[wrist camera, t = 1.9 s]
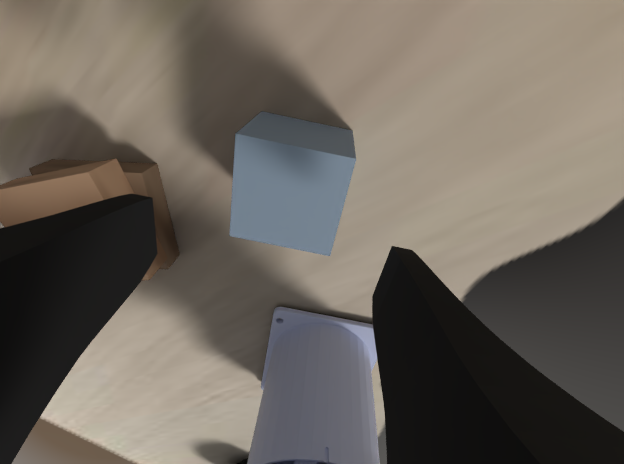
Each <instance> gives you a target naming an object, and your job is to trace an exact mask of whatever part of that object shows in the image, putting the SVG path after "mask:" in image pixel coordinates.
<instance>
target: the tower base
mask: <svg viewBox="0 0 624 464" xmlns="http://www.w3.org/2000/svg"><path fill="white" fill-rule="evenodd" d="M96 162H101V161H81V160H56V159H52V160H49V161H47V162H44V163H42V164H39V165H37V166H34V167H32V168H29V170H30V172H31V174H32V175H37V174H42V173H47V172H52V171H57V170H62V169H67V168H72V167H76V166H81V165H86V164H91V163H96ZM118 163H119V164H120V166H121V168H122V170H123V172H124V174H125V176H126V178H127V180H128V182H129V184H130V186H131V188H132V190H133V191H134V193H135V194H137V195H142V196H147V197H152V198H153V208H154V219H155V230H156V236H157V238H158V240H159V242H160V244H161V246H162V247H163V249H164V251H165V253H166V255H167V257H168V258H167V260H166V261H165V262H164V263H163V265H162V266H161V267H160V268H159V269H169V267H170V266H171V265H172V263H173V262H174V261H175V260H176V258H177V257H178V256H179V250H178V246H177V242H176V238H175V234H174V230H173V226H172V222H171V218H170V213H169V209H168V205H167V201H166V197H165V193H164V189H163V185H162V181H161V177H160V173H159V169H158V165H157V163H132V162H118Z"/></svg>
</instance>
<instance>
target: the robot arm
mask: <svg viewBox="0 0 624 464" xmlns="http://www.w3.org/2000/svg"><path fill="white" fill-rule="evenodd" d="M157 254H158V253H157V241H156V230H155V219H154V208H153V198H152V197H147V196H142V195H137V194H126V195H121V196H117V197H113V198H109V199H105V200H102V201H98V202H95V203H91V204H88V205H85V206H81V207H78V208H74V209H71V210H67V211H64V212H61V213H57V214H54V215H50V216H46V217H43V218H39V219H35V220H31V221H27V222H24V223H20V224H16V225H12V226H8V227H5V228H1V229H0V464H11V463H12V462H13V460H14V458H15V457H16V455H17V453H18V452H19V450H20V448H21V446H22V445H23V443H24V442H25V440H26V438H27V437H28V435H29V433H30V431H31V430H32V428H33V427H34V425H35V424H36V422H37V421H38V419H39V417H40V416H41V414H42V413H43V411H44V409H45V408H46V406H47V405H48V403H49V402H50V400H51V398H52V397H53V395H54V394H55V392H56V391H57V389H58V388H59V386H60V385H61V383H62V382H63V380H64V379H65V377H66V376H67V374H68V373H69V371H70V370H71V368H72V367H73V366H74V364H75V363H76V361H77V360H78V358H79V357H80V356H81V354H82V353H83V352H84V350H85V349H86V348H87V346H88V345H89V344H90V342H91V341H92V340H93V339H94V338H95V336H96V335H97V334H98V333H99V332H100V330H101V329H102V328H103V327H104V326H105V324H106V323H107V322H108V321H109V320H110V318H111V317H112V316H113V315H114V314H115V312H116V311H117V310H118V309H119V308H120V306H121V305H122V304H123V303H124V302H125V300H126V299H127V298H128V297H129V295H130V294H131V293H132V292H133V290H134V289H135V288H136V287H137V286H138V284H139V283H140V282H141V280H142V279H143V277H144V276H145V274H146V273H147V271H148V269H149V268H150V266H151V264H152V263H153V261H154V259H155V257H156V256H157ZM372 313H373V324H368V323H363V322H358V321H352V320H347V319H342V318H337V317H332V316H327V315H322V314H317V313H311V312H306V311H301V310H296V309H291V308H286V307H277V308H275V310H274V313H273V319H272V325H271V330H270V336H269V342H268V348H267V354H266V359H265V365H264V371H263V377H262V383H261V389H262V390H263V395H262V399H261V404H260V408H259V413H258V417H257V422H256V426H255V431H254V435H253V439H252V444H251V448H250V453H249V457H248V462H247V464H380V462H379V451H378V439H377V429H376V418H375V407H374V396H373V385H372V374H371V371H372V369H373V367H374V365H375V363H376V361H377V359H378V366H379V373H380V379H381V386H382V393H383V401H384V410H385V425H386V445H387V464H624V432H623V431H622V430H620V429H618V428H617V427H616V426H614V425H612V424H611V423H610V422H608V421H607V420H605V419H604V418H602V417H601V416H599V415H598V414H596V413H595V412H594V411H592V410H591V409H589V408H588V407H586V406H585V405H584V404H582V403H581V402H579V401H578V400H576V399H575V398H574V397H573V396H571V395H570V394H568V393H567V392H566V391H564V390H563V389H561V388H560V387H559V386H557V385H556V384H555V383H554V382H552V381H551V380H550V379H548V378H547V377H546V376H544V375H543V374H542V373H540V372H539V371H538V370H537V369H535V368H534V367H533V366H531V365H530V364H529V363H528V362H526V361H525V360H524V359H523V358H522V357H521V356H519V355H518V354H517V353H516V352H515V351H513V350H512V349H511V348H510V347H509V346H507V345H506V344H505V343H504V342H503V341H502V340H500V339H499V338H498V337H497V336H496V335H495V334H494V333H493V332H492V331H490V330H489V329H488V328H487V327H486V326H485V325H484V324H483V323H482V322H481V321H480V320H479V319H478V318H477V317H476V316H475V315H474V314H472V313H471V311H469V310H468V309H467V308H466V307H465V306H464V304H463V303H462V302H461V301H460V300H459V299H458V298H457V297H456V296H455V295H454V294H453V293H452V292H451V291H450V290H449V289H448V288H447V287H446V286H445V285H444V283H443V282H442V281H441V280H440V279H439V278H438V277H437V276H436V275H435V274H434V273H433V271H432V270H431V269H430V268H429V267H428V266H427V265H426V264H425V263H424V262H423V261H422V259H421V258H420V257H419V256H418V255H417V254H416V253H415V252H413V251H412V250H409V249H404V248H399V247H394V246H392V247H391V250H390V253H389V255H388V258H387V260H386V263H385V265H384V268H383V271H382V273H381V276H380V278H379V281H378V283H377V286H376V288H375V291H374V294H373V305H372ZM278 318H281V319H278Z"/></svg>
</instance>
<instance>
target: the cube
mask: <svg viewBox="0 0 624 464" xmlns="http://www.w3.org/2000/svg"><path fill="white" fill-rule="evenodd" d="M355 161H356V154H355V147H354V139H353V131H352V130H348V129H343V128H338V127H334V126H329V125H324V124H319V123H315V122H310V121H305V120H301V119H296V118H291V117H287V116H282V115H277V114H272V113H268V112H263V111H261V112H260V113H259V114H258V115H257V116H256V117H254V118H253V119H252V120H251V121H250V122H249V123H247V124H246V125H245V126H244V127H243V128H242V129H240V130H239V131H238V132H237V133H236V135H235V152H234V169H233V186H232V203H231V220H230V236H232V237H237V238H242V239H247V240H252V241H257V242H262V243H267V244H272V245H277V246H282V247H287V248H292V249H297V250H302V251H307V252H312V253H317V254H322V255H327V256H330V254H331V251H332V247H333V243H334V239H335V236H336V232H337V228H338V224H339V221H340V217H341V213H342V210H343V206H344V202H345V198H346V195H347V191H348V187H349V183H350V180H351V176H352V172H353V169H354V165H355Z"/></svg>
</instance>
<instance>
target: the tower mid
mask: <svg viewBox="0 0 624 464" xmlns="http://www.w3.org/2000/svg"><path fill="white" fill-rule="evenodd" d="M126 194H135V193H134V191H133V190H132V188H131V186H130V184H129V182H128V180H127V178H126V176H125V174H124V172H123V170H122V168H121V166H120V164H119V163H118V161H117V159H111V160H106V161H101V162H96V163H91V164H86V165H81V166H76V167H72V168H67V169H62V170H57V171H52V172H47V173H42V174H37V175H32V176H27V177H22V178H18V179H15V180H12V181H10V182H7V183H5V184H2V185H0V222H1V223H2V224H3V226H4V227H8V226H12V225H16V224H20V223H24V222H27V221H31V220H35V219H39V218H43V217H46V216H50V215H54V214H57V213H61V212H64V211H67V210H71V209H74V208H78V207H81V206H85V205H88V204H91V203H95V202H98V201H102V200H105V199H109V198H113V197H117V196H121V195H126ZM156 241H157V253H158V254H157V256H156V257H155V259H154V261H153V263H152V264H151V266H150V268H149V269H148V271H147V273H146V274H145V276H144V277H143V279H142V280H141V281H143V280H150V279H151V278H152V277H153V275H154V274H155V273H156V272H157V271H158V269H159V268H160V267H161V266H162V265H163V263H164V262H165V261H166V260H167V258H168V257H167V255H166V253H165V251H164V249H163V247H162V246H161V244H160V242H159V240H158V238H157V236H156Z"/></svg>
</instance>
